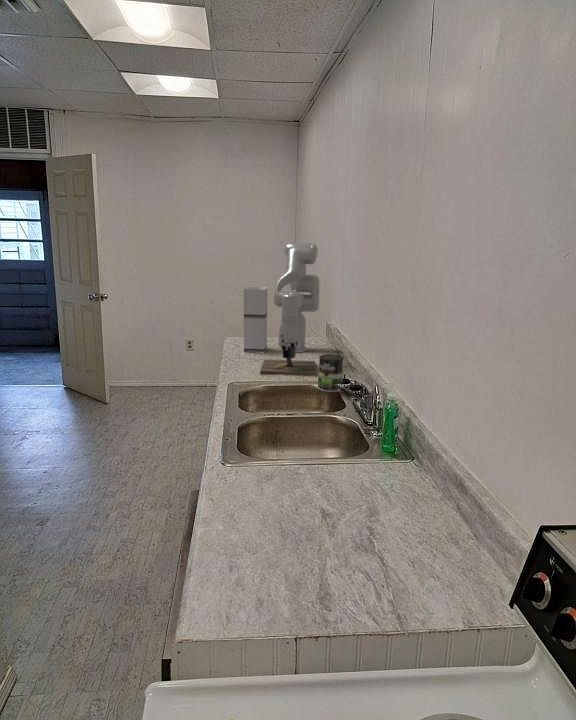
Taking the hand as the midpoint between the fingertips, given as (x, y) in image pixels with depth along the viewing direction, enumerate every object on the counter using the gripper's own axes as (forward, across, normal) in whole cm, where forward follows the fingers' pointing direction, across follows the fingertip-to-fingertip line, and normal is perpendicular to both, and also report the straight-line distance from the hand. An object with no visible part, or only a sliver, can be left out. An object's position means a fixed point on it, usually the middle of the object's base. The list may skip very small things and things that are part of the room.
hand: (288, 356), depth 250 cm
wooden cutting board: (+6, 0, 0) cm, 6 cm away
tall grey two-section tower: (+6, -16, -40) cm, 43 cm away
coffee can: (+6, +12, +34) cm, 37 cm away
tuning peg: (+4, +3, 0) cm, 6 cm away
